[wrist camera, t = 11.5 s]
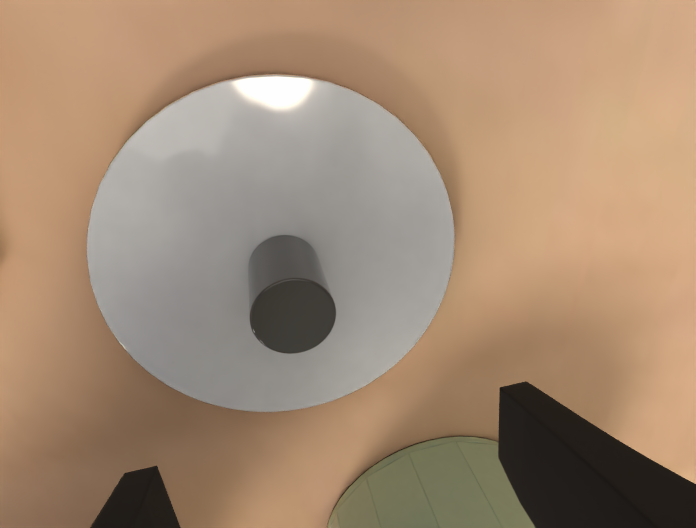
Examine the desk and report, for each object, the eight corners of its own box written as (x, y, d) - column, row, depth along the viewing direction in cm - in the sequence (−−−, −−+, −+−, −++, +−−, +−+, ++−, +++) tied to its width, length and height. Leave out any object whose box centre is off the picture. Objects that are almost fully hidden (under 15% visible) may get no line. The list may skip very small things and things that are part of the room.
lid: (155, 424, 20) (132, 523, 16) (35, 103, 14) (-44, 127, 10) (448, 358, 21) (498, 433, 17) (437, 47, 16) (504, 49, 12)
